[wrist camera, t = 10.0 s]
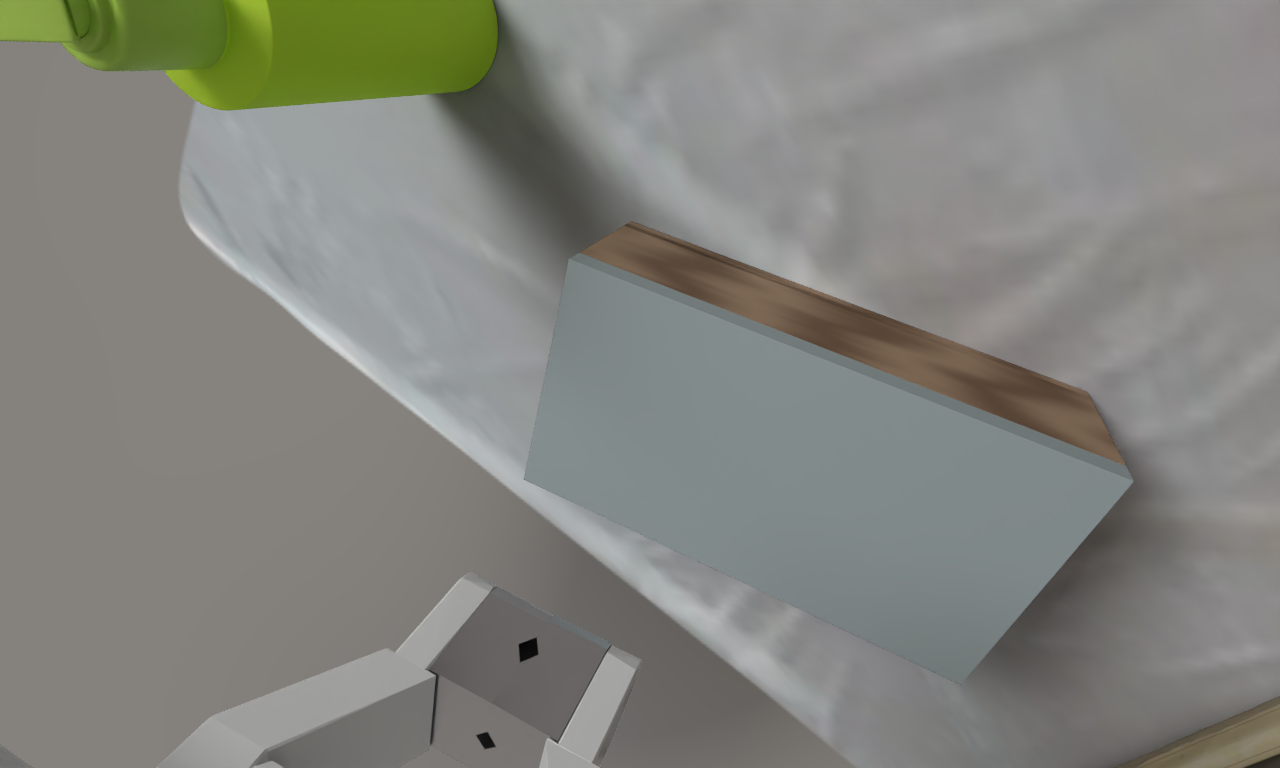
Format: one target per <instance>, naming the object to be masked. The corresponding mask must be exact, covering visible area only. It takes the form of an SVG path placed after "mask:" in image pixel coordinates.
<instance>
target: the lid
mask: <svg viewBox="0 0 1280 768" xmlns="http://www.w3.org/2000/svg"><path fill="white" fill-rule="evenodd" d="M524 480H526V481H528V482H530V483H532V484H535V485H537V486H539V487H541V488H543V489H545V490H547V491H549V492H552V493H554V494H556V495H558V496H560V497H562V498H564V499H566V500H569V501H571V502H573V503H575V504H577V505H579V506H581V507H584V508H586V509H588V510H590V511H592V512H594V513H596V514H598V515H601V516H603V517H605V518H607V519H609V520H611V521H613V522H615V523H618V524H620V525H622V526H624V527H626V528H628V529H630V530H632V531H635V532H637V533H639V534H641V535H643V536H645V537H647V538H649V539H652V540H654V541H656V542H658V543H660V544H662V545H664V546H666V547H669V548H671V549H673V550H675V551H677V552H679V553H681V554H683V555H686V556H688V557H690V558H692V559H694V560H696V561H698V562H700V563H703V564H705V565H707V566H709V567H711V568H713V569H715V570H717V571H720V572H722V573H724V574H726V575H728V576H730V577H732V578H735V579H737V580H739V581H741V582H743V583H745V584H747V585H749V586H752V587H754V588H756V589H758V590H760V591H762V592H764V593H766V594H769V595H771V596H773V597H775V598H777V599H779V600H781V601H783V602H786V603H788V604H790V605H792V606H794V607H796V608H798V609H800V610H803V611H805V612H807V613H809V614H811V615H813V616H815V617H817V618H820V619H822V620H824V621H826V622H828V623H830V624H832V625H834V626H837V627H839V628H841V629H843V630H845V631H847V632H849V633H851V634H854V635H856V636H858V637H860V638H862V639H864V640H866V641H868V642H871V643H873V644H875V645H877V646H879V647H881V648H883V649H886V650H888V651H890V652H892V653H894V654H896V655H898V656H900V657H903V658H905V659H907V660H909V661H911V662H913V663H915V664H917V665H920V666H922V667H924V668H926V669H928V670H930V671H932V672H934V673H937V674H939V675H941V676H943V677H945V678H947V679H949V680H951V681H954V682H956V683H958V684H960V685H961V684H962V683H963V682H964V680H965V679H966V678H967V677H968V676H969V675H970V673H971V672H972V671H973V670H974V669H975V668H976V666H977V665H978V664H979V663H980V662H981V661H982V659H983V658H984V657H985V656H986V655H987V653H988V652H989V651H990V650H991V649H992V648H993V646H994V645H995V644H996V643H997V642H998V641H999V639H1000V638H1001V637H1002V636H1003V635H1004V633H1005V632H1006V631H1007V630H1008V629H1009V628H1010V626H1011V625H1012V624H1013V623H1014V622H1015V621H1016V619H1017V618H1018V617H1019V616H1020V615H1021V614H1022V612H1023V611H1024V610H1025V609H1026V608H1027V606H1028V605H1029V604H1030V603H1031V602H1032V601H1033V599H1034V598H1035V597H1036V596H1037V595H1038V594H1039V592H1040V591H1041V590H1042V589H1043V588H1044V586H1045V585H1046V584H1047V583H1048V582H1049V581H1050V579H1051V578H1052V577H1053V576H1054V575H1055V574H1056V572H1057V571H1058V570H1059V569H1060V568H1061V567H1062V565H1063V564H1064V563H1065V562H1066V561H1067V559H1068V558H1069V557H1070V556H1071V555H1072V554H1073V552H1074V551H1075V550H1076V549H1077V548H1078V547H1079V545H1080V544H1081V543H1082V542H1083V541H1084V540H1085V538H1086V537H1087V536H1088V535H1089V534H1090V532H1091V531H1092V530H1093V529H1094V528H1095V527H1096V525H1097V524H1098V523H1099V522H1100V521H1101V520H1102V518H1103V517H1104V516H1105V515H1106V514H1107V512H1108V511H1109V510H1110V509H1111V508H1112V507H1113V505H1114V504H1115V503H1116V502H1117V501H1118V500H1119V498H1120V497H1121V496H1122V495H1123V494H1124V493H1125V491H1126V490H1127V489H1128V488H1129V487H1130V485H1131V484H1132V483H1133V482H1134V480H1133V478H1132V476H1131V475H1130V473H1129V471H1128V469H1127V467H1126V466H1125V465H1122V464H1120V463H1117V462H1114V461H1112V460H1109V459H1107V458H1104V457H1102V456H1099V455H1097V454H1094V453H1091V452H1089V451H1086V450H1084V449H1081V448H1079V447H1076V446H1073V445H1071V444H1068V443H1066V442H1063V441H1061V440H1058V439H1056V438H1053V437H1050V436H1048V435H1045V434H1043V433H1040V432H1038V431H1035V430H1032V429H1030V428H1027V427H1025V426H1022V425H1020V424H1017V423H1015V422H1012V421H1009V420H1007V419H1004V418H1002V417H999V416H997V415H994V414H991V413H989V412H986V411H984V410H981V409H979V408H976V407H974V406H971V405H968V404H966V403H963V402H961V401H958V400H956V399H953V398H950V397H948V396H945V395H943V394H940V393H938V392H935V391H933V390H930V389H927V388H925V387H922V386H920V385H917V384H915V383H912V382H909V381H907V380H904V379H902V378H899V377H897V376H894V375H892V374H889V373H886V372H884V371H881V370H879V369H876V368H874V367H871V366H868V365H866V364H863V363H861V362H858V361H856V360H853V359H851V358H848V357H845V356H843V355H840V354H838V353H835V352H833V351H830V350H827V349H825V348H822V347H820V346H817V345H815V344H812V343H810V342H807V341H804V340H802V339H799V338H797V337H794V336H792V335H789V334H786V333H784V332H781V331H779V330H776V329H774V328H771V327H769V326H766V325H763V324H761V323H758V322H756V321H753V320H751V319H748V318H745V317H743V316H740V315H738V314H735V313H733V312H730V311H728V310H725V309H722V308H720V307H717V306H715V305H712V304H710V303H707V302H704V301H702V300H699V299H697V298H694V297H692V296H689V295H687V294H684V293H681V292H679V291H676V290H674V289H671V288H669V287H666V286H663V285H661V284H658V283H656V282H653V281H651V280H648V279H646V278H643V277H640V276H638V275H635V274H633V273H630V272H628V271H625V270H622V269H620V268H617V267H615V266H612V265H610V264H607V263H605V262H602V261H599V260H597V259H594V258H592V257H589V256H587V255H584V254H581V253H578V254H576V255H574V256H573V257H571V258H569V260H568V265H567V270H566V275H565V280H564V284H563V289H562V294H561V299H560V304H559V309H558V314H557V319H556V324H555V329H554V333H553V338H552V343H551V348H550V353H549V358H548V363H547V368H546V373H545V378H544V382H543V387H542V392H541V397H540V402H539V407H538V412H537V417H536V422H535V427H534V431H533V436H532V441H531V446H530V451H529V456H528V461H527V466H526V471H525V476H524Z"/></svg>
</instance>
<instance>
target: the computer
mask: <svg viewBox="0 0 1280 768" xmlns="http://www.w3.org/2000/svg"><path fill="white" fill-rule="evenodd" d="M1115 768H1280V696H1279V697H1277V698H1274V699H1272V700H1270V701H1268V702H1265V703H1263V704H1261V705H1259V706H1257V707H1255V708H1253V709H1251V710H1248V711H1245V712H1243V713H1240V714H1238V715H1235V716H1233V717H1231V718H1229V719H1226V720H1224V721H1222V722H1220V723H1217V724H1215V725H1213V726H1210V727H1208V728H1205V729H1203V730H1200V731H1198V732H1196V733H1194V734H1192V735H1190V736H1187V737H1185V738H1182V739H1180V740H1177V741H1175V742H1173V743H1170V744H1168V745H1166V746H1164V747H1162V748H1160V749H1158V750H1156V751H1154V752H1151V753H1148V754H1146V755H1143V756H1141V757H1139V758H1136V759H1134V760H1132V761H1129V762H1127V763H1124V764H1121V765H1119V766H1117V767H1115Z"/></svg>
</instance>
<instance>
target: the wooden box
mask: <svg viewBox="0 0 1280 768" xmlns="http://www.w3.org/2000/svg"><path fill="white" fill-rule="evenodd" d="M580 253H581V254H584V255H587V256H589V257H592V258H594V259H597V260H599V261H602V262H605V263H607V264H610V265H612V266H615V267H617V268H620V269H622V270H625V271H628V272H630V273H633V274H635V275H638V276H640V277H643V278H646V279H648V280H651V281H653V282H656V283H658V284H661V285H663V286H666V287H669V288H671V289H674V290H676V291H679V292H681V293H684V294H687V295H689V296H692V297H694V298H697V299H699V300H702V301H704V302H707V303H710V304H712V305H715V306H717V307H720V308H722V309H725V310H728V311H730V312H733V313H735V314H738V315H740V316H743V317H745V318H748V319H751V320H753V321H756V322H758V323H761V324H763V325H766V326H769V327H771V328H774V329H776V330H779V331H781V332H784V333H786V334H789V335H792V336H794V337H797V338H799V339H802V340H804V341H807V342H810V343H812V344H815V345H817V346H820V347H822V348H825V349H827V350H830V351H833V352H835V353H838V354H840V355H843V356H845V357H848V358H851V359H853V360H856V361H858V362H861V363H863V364H866V365H868V366H871V367H874V368H876V369H879V370H881V371H884V372H886V373H889V374H892V375H894V376H897V377H899V378H902V379H904V380H907V381H909V382H912V383H915V384H917V385H920V386H922V387H925V388H927V389H930V390H933V391H935V392H938V393H940V394H943V395H945V396H948V397H950V398H953V399H956V400H958V401H961V402H963V403H966V404H968V405H971V406H974V407H976V408H979V409H981V410H984V411H986V412H989V413H991V414H994V415H997V416H999V417H1002V418H1004V419H1007V420H1009V421H1012V422H1015V423H1017V424H1020V425H1022V426H1025V427H1027V428H1030V429H1032V430H1035V431H1038V432H1040V433H1043V434H1045V435H1048V436H1050V437H1053V438H1056V439H1058V440H1061V441H1063V442H1066V443H1068V444H1071V445H1073V446H1076V447H1079V448H1081V449H1084V450H1086V451H1089V452H1091V453H1094V454H1097V455H1099V456H1102V457H1104V458H1107V459H1109V460H1112V461H1114V462H1117V463H1120V464H1122V465H1125V463H1124V461H1123V459H1122V457H1121V455H1120V454H1119V452H1118V450H1117V448H1116V446H1115V444H1114V442H1113V440H1112V438H1111V436H1110V434H1109V432H1108V431H1107V429H1106V427H1105V425H1104V423H1103V421H1102V419H1101V417H1100V415H1099V413H1098V411H1097V409H1096V408H1095V406H1094V404H1093V402H1092V400H1091V398H1090V396H1089V394H1088V392H1086V391H1083V390H1081V389H1078V388H1075V387H1073V386H1070V385H1067V384H1065V383H1062V382H1059V381H1057V380H1054V379H1051V378H1049V377H1046V376H1043V375H1041V374H1038V373H1035V372H1033V371H1030V370H1027V369H1025V368H1022V367H1019V366H1017V365H1014V364H1011V363H1009V362H1006V361H1003V360H1001V359H998V358H995V357H992V356H990V355H987V354H984V353H982V352H979V351H976V350H974V349H971V348H968V347H966V346H963V345H960V344H958V343H955V342H952V341H950V340H947V339H944V338H942V337H939V336H936V335H934V334H931V333H928V332H926V331H923V330H920V329H918V328H915V327H912V326H910V325H907V324H904V323H902V322H899V321H896V320H894V319H891V318H888V317H886V316H883V315H880V314H878V313H875V312H872V311H870V310H867V309H864V308H862V307H859V306H856V305H854V304H851V303H848V302H845V301H843V300H840V299H837V298H835V297H832V296H829V295H827V294H824V293H821V292H819V291H816V290H813V289H811V288H808V287H805V286H803V285H800V284H797V283H795V282H792V281H789V280H787V279H784V278H781V277H779V276H776V275H773V274H771V273H768V272H765V271H763V270H760V269H757V268H755V267H752V266H749V265H747V264H744V263H741V262H739V261H736V260H733V259H731V258H728V257H725V256H723V255H720V254H717V253H715V252H712V251H709V250H707V249H704V248H701V247H698V246H696V245H693V244H690V243H688V242H685V241H682V240H680V239H677V238H674V237H672V236H669V235H666V234H664V233H661V232H658V231H656V230H653V229H650V228H648V227H645V226H642V225H640V224H637V223H634V222H632V221H631V222H630V223H628V224H626V225H625V226H623V227H621V228H620V229H618V230H616V231H615V232H613V233H611V234H610V235H608V236H606V237H605V238H603V239H601V240H600V241H598V242H596V243H595V244H593V245H591V246H589V247H588V248H586V249H584V250H583V251H581V252H580Z"/></svg>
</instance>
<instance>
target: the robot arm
mask: <svg viewBox="0 0 1280 768" xmlns="http://www.w3.org/2000/svg"><path fill="white" fill-rule="evenodd" d="M641 665H642V660H641V659H639V658H637V657H635V656H633V655H631V654H629V653H627V652H625V651H623V650H620V649H618V648H616V647H614V646H612V644H611V643H609V642H607V641H605V640H603V639H601V638H599V637H597V636H595V635H593V634H591V633H589V632H587V631H585V630H583V629H581V628H579V627H577V626H575V625H573V624H570V623H568V622H566V621H564V620H562V619H560V618H558V617H556V616H552V615H551V614H548V613H547V612H545V611H543V610H541V609H539V608H537V607H535V606H533V605H532V604H530V603H528V602H526V601H524V600H522V599H520V598H518V597H517V596H514V595H512V594H511V593H509V592H507V591H505V590H503V589H501V588H500V587H499V586H497V585H495V584H493V583H491V582H488V581H487V580H485V579H483V578H481V577H479V576H477V575H475V574H473V573H471V572H470V573H468V574H466V575H465V576H463V577H462V578H460V579H459V580H458V582H457V583H456V584H455V585H454V586H453V587H452V588H451V590H450V591H449V592H448V593H447V594H446V595H445V596H444V597H443V599H442V600H441V601H440V602H439V603H438V604H437V606H436V607H435V608H434V609H433V610H432V611H431V612H430V613H429V615H428V616H427V617H426V618H425V619H424V620H423V621H422V623H421V624H420V625H419V626H418V627H417V628H416V629H415V631H414V632H413V633H412V634H411V635H410V636H409V637H408V639H407V640H406V641H405V642H404V643H403V644H402V645H401V647H400V648H399V649H398V650H397V651H396V652H394V651H393V650H391V649H389V648H386V649H383V650H380V651H378V652H375V653H373V654H370V655H368V656H365V657H362V658H360V659H357V660H355V661H353V662H350V663H347V664H344V665H342V666H339V667H337V668H334V669H332V670H329V671H326V672H324V673H321V674H319V675H316V676H314V677H311V678H309V679H306V680H303V681H301V682H298V683H296V684H294V685H291V686H288V687H285V688H283V689H280V690H278V691H275V692H272V693H270V694H267V695H265V696H262V697H260V698H257V699H255V700H252V701H249V702H247V703H244V704H242V705H239V706H237V707H234V708H231V709H229V710H227V711H224V712H221V713H219V714H216V715H213V716H211V717H210V718H209V719H208V720H206V721H205V722H204V723H203V724H202V725H201V726H200V727H199V728H198V729H197V730H196V731H195V732H194V733H193V734H192V735H190V736H189V737H188V738H187V739H186V740H185V741H184V742H183V743H182V744H181V745H180V746H179V747H178V748H177V749H175V750H174V751H173V752H172V753H171V754H170V755H169V756H168V757H167V758H166V759H165V760H164V761H163V762H161V764H159V765H158V766H157V767H156V768H399V767H401V766H403V765H405V764H406V763H408V762H410V761H411V760H413V759H415V758H417V757H418V756H420V755H421V754H423V753H425V752H427V751H429V749H430V746H432V747H433V748H435V749H437V750H439V751H441V752H442V753H444V754H446V755H448V756H450V757H452V758H453V759H455V760H457V761H459V762H461V763H462V764H464V765H466V766H468V767H470V768H601V767H600V765H601V763H602V761H603V758H604V756H605V754H606V752H607V750H608V748H609V745H610V743H611V741H612V739H613V737H614V734H615V732H616V729H617V727H618V724H619V722H620V719H621V717H622V714H623V712H624V709H625V707H626V704H627V702H628V699H629V697H630V694H631V692H632V689H633V686H634V684H635V681H636V678H637V676H638V673H639V670H640V668H641ZM0 768H33V767H32V766H31V765H29V764H28V763H26V762H25V761H23V760H22V759H21V758H19V757H18V756H16V755H15V754H13V753H12V752H11V751H9V750H8V749H6V748H5V747H4V746H2V745H1V744H0Z"/></svg>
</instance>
